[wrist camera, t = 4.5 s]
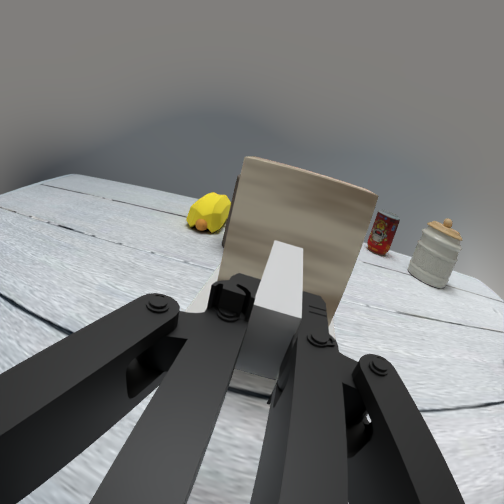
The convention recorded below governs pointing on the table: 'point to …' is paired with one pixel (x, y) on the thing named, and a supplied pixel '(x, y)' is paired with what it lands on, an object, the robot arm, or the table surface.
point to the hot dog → (209, 212)
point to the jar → (436, 254)
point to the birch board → (297, 225)
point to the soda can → (383, 232)
